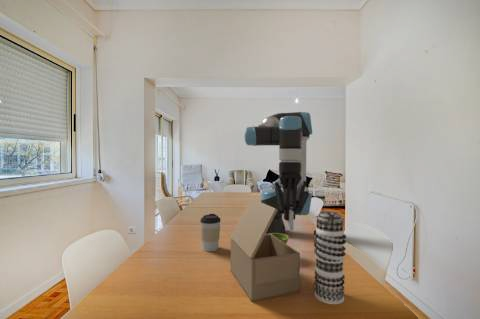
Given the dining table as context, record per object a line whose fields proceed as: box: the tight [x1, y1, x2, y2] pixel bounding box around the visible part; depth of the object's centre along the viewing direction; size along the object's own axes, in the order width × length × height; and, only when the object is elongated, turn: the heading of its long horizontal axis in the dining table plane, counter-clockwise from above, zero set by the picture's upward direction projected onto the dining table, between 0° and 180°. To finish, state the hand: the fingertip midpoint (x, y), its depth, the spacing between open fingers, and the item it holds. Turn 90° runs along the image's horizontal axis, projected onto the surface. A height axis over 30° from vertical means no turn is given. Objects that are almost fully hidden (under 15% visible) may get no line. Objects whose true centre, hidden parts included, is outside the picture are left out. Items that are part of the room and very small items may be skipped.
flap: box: [229, 197, 277, 259], centre depth 83 cm, size 16×20×1 cm
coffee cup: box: [200, 213, 221, 252], centre depth 113 cm, size 9×9×15 cm
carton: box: [230, 234, 301, 302], centre depth 84 cm, size 16×21×12 cm
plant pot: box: [270, 233, 290, 245], centre depth 104 cm, size 9×9×9 cm
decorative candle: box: [313, 210, 347, 305], centre depth 75 cm, size 9×9×25 cm
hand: (289, 229), depth 88 cm, fingers closed
